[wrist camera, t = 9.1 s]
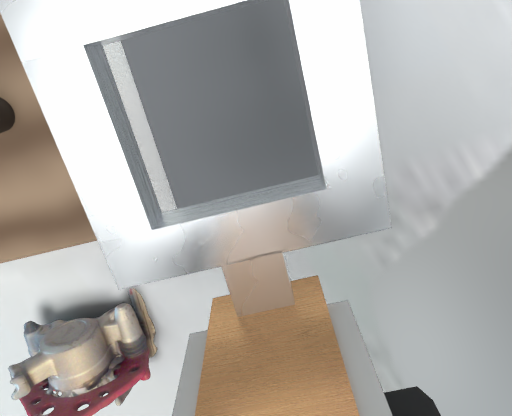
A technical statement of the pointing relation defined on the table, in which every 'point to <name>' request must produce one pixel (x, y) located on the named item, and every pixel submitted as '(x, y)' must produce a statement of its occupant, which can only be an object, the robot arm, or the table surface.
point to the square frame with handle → (225, 209)
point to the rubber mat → (224, 103)
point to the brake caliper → (85, 360)
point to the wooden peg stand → (32, 171)
